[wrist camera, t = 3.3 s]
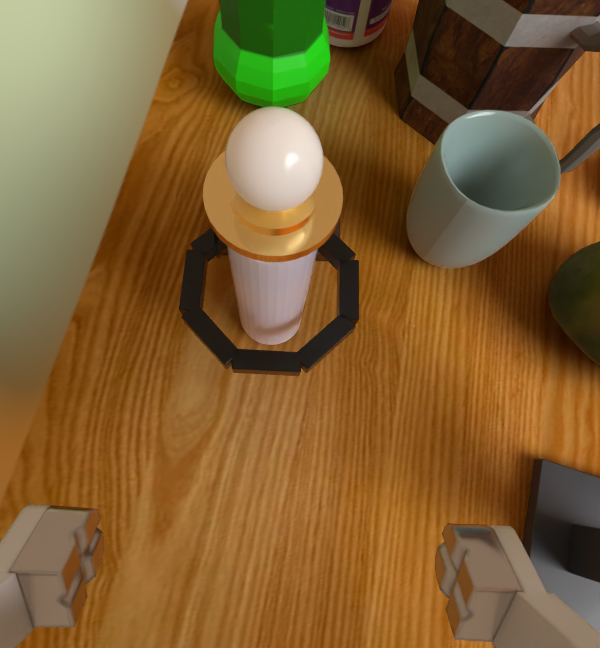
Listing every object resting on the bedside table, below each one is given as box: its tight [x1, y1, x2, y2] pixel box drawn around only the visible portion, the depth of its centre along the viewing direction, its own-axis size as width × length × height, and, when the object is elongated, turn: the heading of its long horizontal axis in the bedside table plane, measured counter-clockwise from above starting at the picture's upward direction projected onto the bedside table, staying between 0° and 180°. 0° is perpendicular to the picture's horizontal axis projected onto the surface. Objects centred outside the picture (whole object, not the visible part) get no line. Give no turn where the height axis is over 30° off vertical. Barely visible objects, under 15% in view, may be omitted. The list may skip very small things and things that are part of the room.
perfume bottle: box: [203, 106, 343, 345], centre depth 24 cm, size 6×6×20 cm
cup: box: [406, 110, 561, 269], centre depth 32 cm, size 8×8×10 cm
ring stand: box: [179, 218, 359, 376], centre depth 31 cm, size 16×11×7 cm, turn 178°
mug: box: [394, 0, 600, 173], centre depth 34 cm, size 20×14×15 cm
